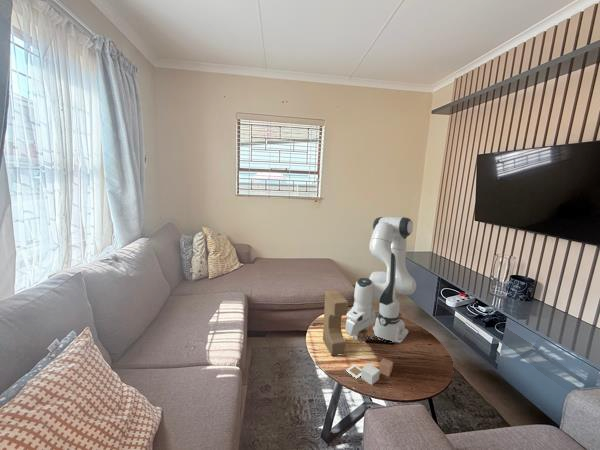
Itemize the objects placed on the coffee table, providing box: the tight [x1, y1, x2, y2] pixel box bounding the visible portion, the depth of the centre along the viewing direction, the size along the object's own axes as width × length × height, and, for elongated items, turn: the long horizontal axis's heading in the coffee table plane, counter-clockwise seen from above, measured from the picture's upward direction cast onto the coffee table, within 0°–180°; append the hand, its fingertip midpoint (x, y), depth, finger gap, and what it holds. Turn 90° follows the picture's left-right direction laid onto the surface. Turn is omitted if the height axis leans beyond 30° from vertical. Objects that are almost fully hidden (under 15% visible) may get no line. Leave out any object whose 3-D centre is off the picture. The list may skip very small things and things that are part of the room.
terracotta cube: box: [378, 357, 394, 377], centre depth 133 cm, size 5×5×5 cm
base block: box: [360, 362, 381, 386], centre depth 128 cm, size 6×6×5 cm
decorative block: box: [322, 289, 349, 356], centre depth 148 cm, size 15×8×30 cm, turn 14°
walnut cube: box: [352, 328, 369, 344], centre depth 137 cm, size 5×5×5 cm
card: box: [345, 364, 362, 380], centre depth 132 cm, size 7×7×1 cm
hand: (360, 335), depth 138 cm, fingers closed on walnut cube, 5 cm apart
